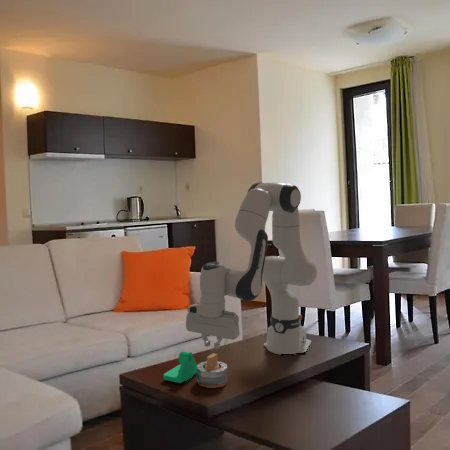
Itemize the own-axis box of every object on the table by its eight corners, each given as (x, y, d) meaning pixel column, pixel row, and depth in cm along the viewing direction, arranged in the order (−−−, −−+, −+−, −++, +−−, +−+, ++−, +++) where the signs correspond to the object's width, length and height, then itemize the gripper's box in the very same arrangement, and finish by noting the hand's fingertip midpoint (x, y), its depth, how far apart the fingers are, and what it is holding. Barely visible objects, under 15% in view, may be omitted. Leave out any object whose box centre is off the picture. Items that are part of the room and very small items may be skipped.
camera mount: (180, 370, 205) (180, 344, 204) (198, 374, 201) (198, 347, 200) (162, 381, 194) (162, 354, 193) (180, 386, 191) (180, 357, 190)
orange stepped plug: (209, 367, 197) (209, 351, 196) (222, 370, 194) (222, 354, 193) (201, 372, 192) (202, 356, 191) (214, 375, 190) (214, 359, 189)
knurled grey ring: (207, 374, 201) (207, 358, 200) (232, 380, 195) (232, 364, 195) (191, 384, 192) (191, 368, 191) (217, 391, 186) (217, 374, 186)
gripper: (242, 310, 188) (242, 349, 190) (193, 302, 198) (193, 339, 200) (234, 315, 182) (233, 355, 184) (183, 306, 192) (183, 344, 194)
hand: (212, 347), depth 192 cm, fingers open, 3 cm apart
